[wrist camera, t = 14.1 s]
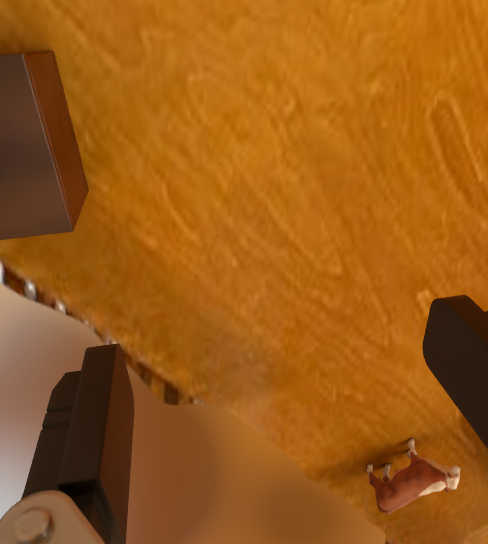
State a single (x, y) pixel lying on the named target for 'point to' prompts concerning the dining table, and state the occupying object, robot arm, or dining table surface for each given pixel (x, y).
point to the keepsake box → (59, 128)
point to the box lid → (27, 159)
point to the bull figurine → (411, 481)
